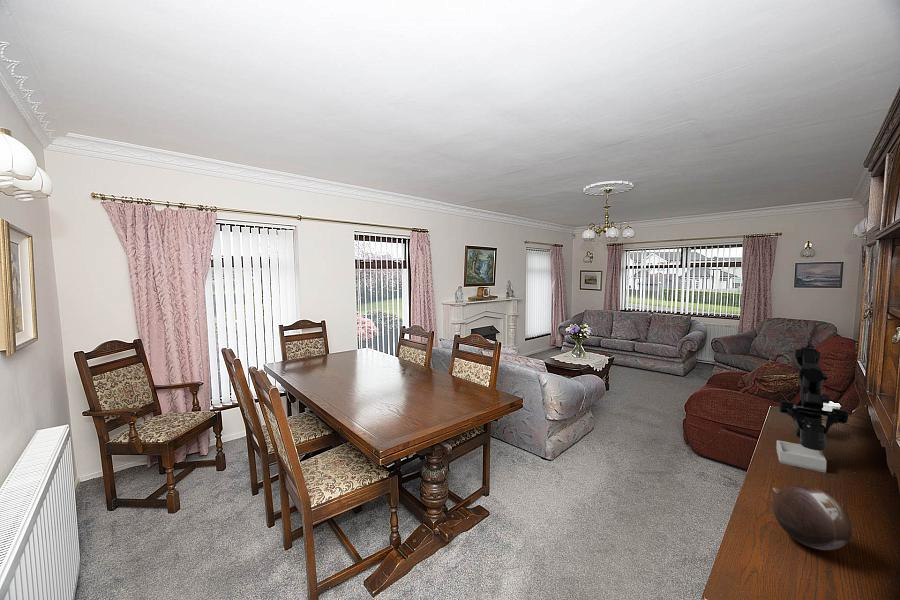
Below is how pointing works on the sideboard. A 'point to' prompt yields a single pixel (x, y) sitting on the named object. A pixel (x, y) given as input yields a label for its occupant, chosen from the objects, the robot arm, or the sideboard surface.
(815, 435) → the supplement bottle
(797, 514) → the dark glossy egg
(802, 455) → the tray
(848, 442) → the sideboard surface
